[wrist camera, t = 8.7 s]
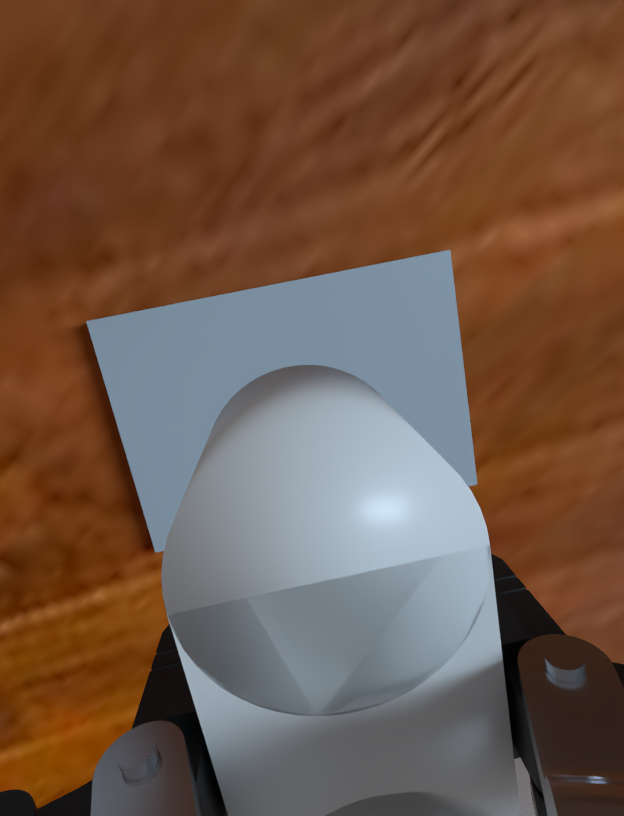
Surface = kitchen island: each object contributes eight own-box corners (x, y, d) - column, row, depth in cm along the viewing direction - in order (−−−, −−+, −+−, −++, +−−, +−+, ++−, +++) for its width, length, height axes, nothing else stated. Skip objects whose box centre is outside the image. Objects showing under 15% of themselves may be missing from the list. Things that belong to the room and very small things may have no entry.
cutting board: (442, 251, 28) (450, 249, 27) (469, 477, 32) (477, 484, 31) (93, 319, 28) (86, 321, 27) (159, 542, 31) (155, 552, 30)
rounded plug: (389, 345, 11) (471, 388, 6) (458, 799, 14) (545, 1039, 9) (183, 387, 10) (120, 460, 6) (300, 835, 14) (313, 1097, 9)
